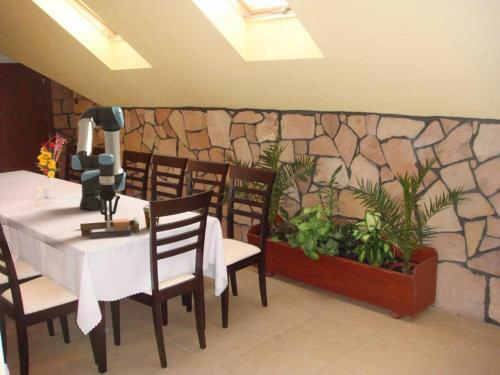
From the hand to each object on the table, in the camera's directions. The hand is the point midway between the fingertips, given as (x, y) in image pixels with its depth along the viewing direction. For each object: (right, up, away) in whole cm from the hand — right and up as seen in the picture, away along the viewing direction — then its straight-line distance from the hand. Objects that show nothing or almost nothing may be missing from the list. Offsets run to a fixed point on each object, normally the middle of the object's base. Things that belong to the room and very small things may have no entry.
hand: (108, 226), depth 277 cm
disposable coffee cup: (+22, -1, +7) cm, 23 cm away
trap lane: (+1, -2, -2) cm, 4 cm away
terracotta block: (+6, -2, +3) cm, 7 cm away
